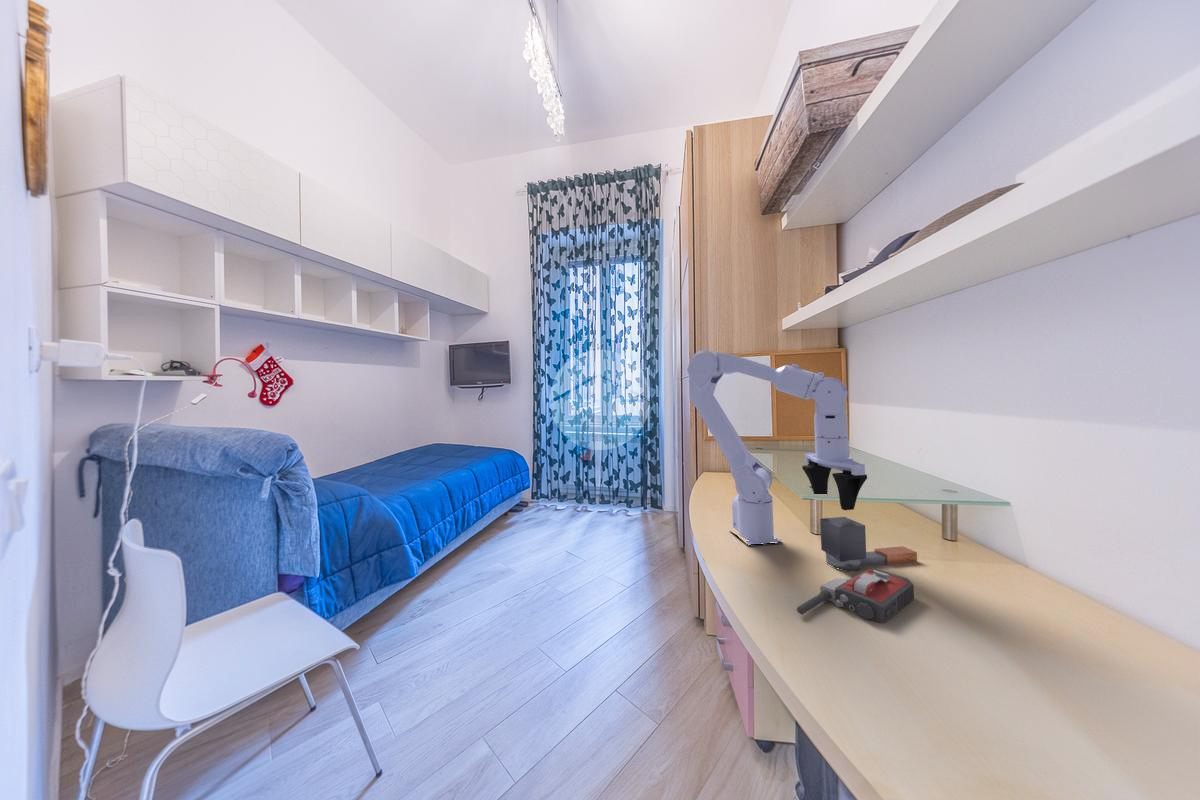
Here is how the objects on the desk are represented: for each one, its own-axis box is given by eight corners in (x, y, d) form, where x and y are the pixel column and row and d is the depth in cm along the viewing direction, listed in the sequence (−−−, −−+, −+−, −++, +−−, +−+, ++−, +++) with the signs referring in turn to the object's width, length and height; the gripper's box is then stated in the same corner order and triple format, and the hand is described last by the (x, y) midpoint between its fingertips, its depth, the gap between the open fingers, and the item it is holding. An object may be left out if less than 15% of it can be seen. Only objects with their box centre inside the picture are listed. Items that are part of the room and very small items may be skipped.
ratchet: (840, 572, 67) (839, 544, 67) (819, 559, 72) (818, 533, 72) (924, 565, 68) (923, 537, 68) (897, 552, 74) (896, 527, 74)
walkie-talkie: (857, 577, 66) (791, 617, 55) (856, 552, 66) (790, 587, 55) (920, 598, 58) (858, 649, 48) (919, 570, 58) (857, 615, 48)
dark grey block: (821, 549, 72) (820, 518, 72) (845, 547, 72) (844, 516, 72) (840, 561, 67) (839, 527, 67) (866, 558, 67) (865, 525, 67)
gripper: (879, 439, 69) (882, 513, 69) (824, 432, 83) (827, 493, 84) (843, 441, 68) (846, 516, 68) (794, 434, 83) (797, 495, 83)
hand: (833, 503), depth 76 cm, fingers open, 7 cm apart
